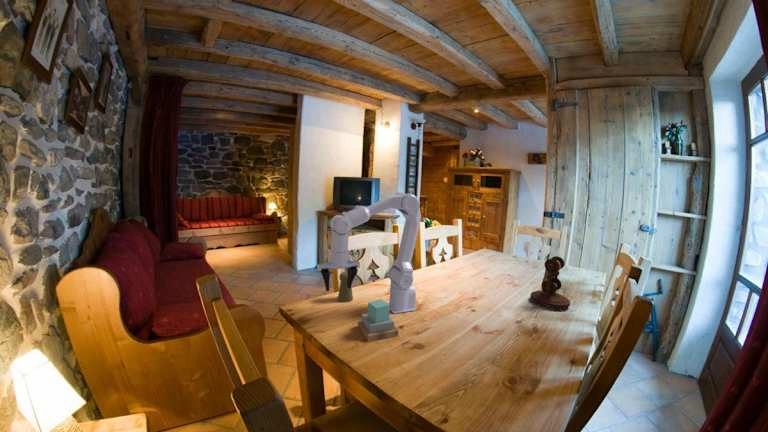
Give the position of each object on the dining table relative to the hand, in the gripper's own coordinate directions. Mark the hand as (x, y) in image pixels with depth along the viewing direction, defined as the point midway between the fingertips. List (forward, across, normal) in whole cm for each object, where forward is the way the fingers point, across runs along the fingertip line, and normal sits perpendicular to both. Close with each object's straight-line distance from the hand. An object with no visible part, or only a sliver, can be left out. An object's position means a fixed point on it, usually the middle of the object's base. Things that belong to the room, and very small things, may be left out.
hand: (338, 288), depth 104 cm
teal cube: (+6, -10, +13) cm, 18 cm away
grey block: (+9, -10, +13) cm, 18 cm away
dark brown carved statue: (+11, -88, +15) cm, 90 cm away
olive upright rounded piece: (+11, -7, -14) cm, 19 cm away
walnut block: (+11, -10, +13) cm, 20 cm away
